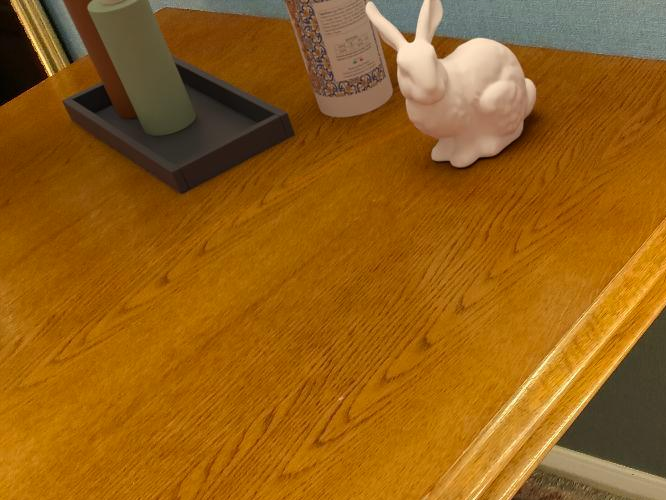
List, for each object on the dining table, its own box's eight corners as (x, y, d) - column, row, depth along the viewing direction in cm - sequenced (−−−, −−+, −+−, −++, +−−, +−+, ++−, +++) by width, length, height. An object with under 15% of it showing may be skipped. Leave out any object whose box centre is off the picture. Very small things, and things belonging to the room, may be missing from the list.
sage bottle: (159, 141, 91) (89, -9, 82) (135, 127, 94) (66, -20, 85) (205, 118, 93) (143, -32, 83) (181, 104, 96) (118, -42, 86)
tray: (185, 202, 85) (171, 171, 83) (75, 128, 98) (61, 100, 96) (298, 142, 89) (287, 112, 87) (178, 79, 102) (166, 51, 100)
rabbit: (446, 187, 80) (409, 33, 71) (384, 152, 85) (342, 4, 76) (562, 124, 84) (540, -30, 75) (495, 94, 89) (468, -53, 80)
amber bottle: (131, 124, 95) (61, -23, 85) (109, 110, 98) (39, -33, 88) (176, 102, 97) (113, -44, 87) (154, 89, 99) (90, -54, 90)
